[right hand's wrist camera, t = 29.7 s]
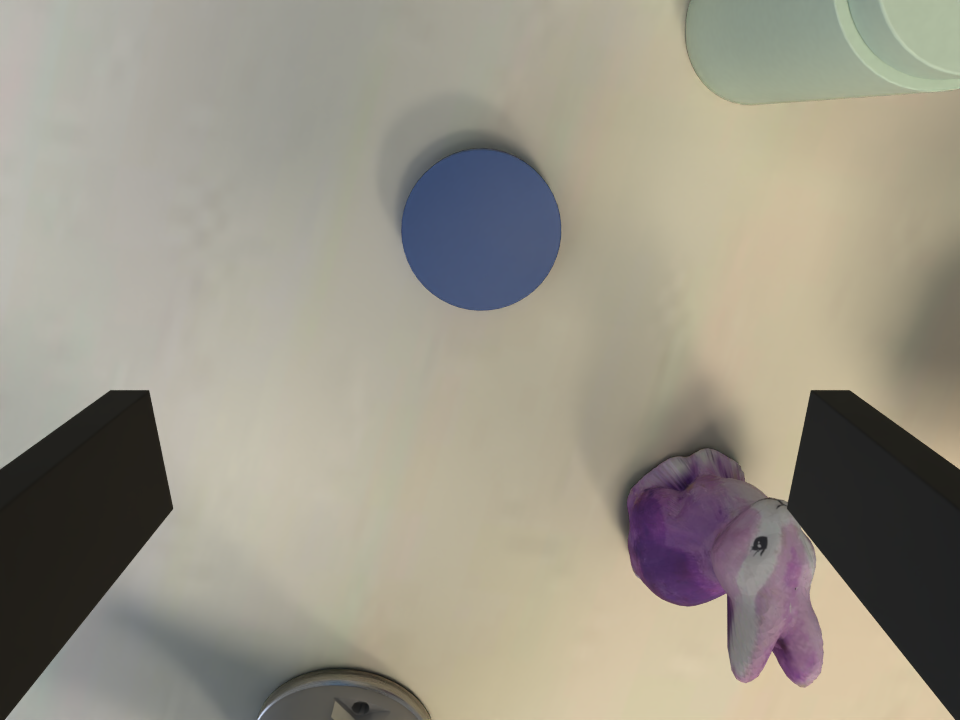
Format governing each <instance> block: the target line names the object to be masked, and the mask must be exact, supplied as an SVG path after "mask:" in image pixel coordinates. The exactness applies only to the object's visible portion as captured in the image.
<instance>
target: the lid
mask: <svg viewBox="0 0 960 720" xmlns="http://www.w3.org/2000/svg"><path fill="white" fill-rule="evenodd" d="M401 232H402V243H403V247H404V252H405V255H406V258H407V261H408V263H409V265H410V267H411V269H412V271H413V272H414V274H415V275H416V277H417V278H418V280H419V281H420V282H421V283H422V284H423V285H424V287H425V288H427V289H428V290H429V291H430V292H431V293H432V294H434V295H435V296H436V297H438V298H439V299H441V300H443V301H445V302H447V303H449V304H451V305H454V306H457V307H460V308H464V309H469V310H493V309H499V308H502V307H506V306H509V305H511V304H514V303H516V302H518V301H520V300H521V299H523V298H525V297H526V296H528V295H529V294H530V293H531V292H533V291H534V290H535V289H536V288H537V287H538V286H539V285H540V284H541V283H542V282H543V280H544V279H545V278H546V276H547V275H548V273H549V272H550V270H551V268H552V267H553V264H554V262H555V260H556V257H557V254H558V250H559V247H560V240H561V220H560V214H559V210H558V206H557V203H556V200H555V198H554V195H553V194H552V192H551V190H550V188H549V186H548V185H547V184H546V182H545V181H544V180H543V178H542V177H541V176H540V175H539V174H538V173H537V172H536V171H535V170H534V169H533V168H532V167H530V166H529V165H528V164H527V163H525V162H524V161H522V160H521V159H519V158H517V157H515V156H513V155H511V154H508V153H506V152H503V151H499V150H495V149H486V148H479V149H469V150H463V151H460V152H457V153H454V154H452V155H449V156H447V157H445V158H443V159H442V160H440V161H439V162H437V163H436V164H435V165H433V166H432V167H431V168H430V169H429V170H428V171H427V172H425V173H424V175H423V176H422V177H421V178H420V179H419V180H418V182H417V183H416V185H415V186H414V188H413V189H412V191H411V193H410V195H409V197H408V199H407V202H406V205H405V208H404V212H403V218H402V230H401Z"/></svg>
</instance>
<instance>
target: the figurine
mask: <svg viewBox="0 0 960 720" xmlns="http://www.w3.org/2000/svg"><path fill="white" fill-rule="evenodd" d="M787 505H788V502H786V501H784V500H779V499H775V498H768V497H767V496H766V495H765V494H764V493H763V492H762V491H760V490H759V489H758V488H756V487H755V486H753V485H751V484H749V483H747V482H745V478H744V473H743V471H742V470H741V466H740V465H738V463H737V462H736V461H734V460H733V459H730V457H727V456H725V455H724V454H722V453H721V452H719V451H716V450H714V449H709V448H706V449H701V450H699V451H698V452H695V453H693V454H692V455H690V456H687V457H682V456H676V457H672V458H669V459H667V460H666V461H664V462H662V463H661V464H659V465H658V466H657V467H656V468H653V470H651V471H650V472H649V473H647V474H646V475H645V476H643V478H642V479H641V480H639V481H638V483H637V484H635V485H634V486H633V487H632V488H631V490H630V493H629V496H628V499H627V508H628V513H629V522H630V530H629V535H628V550H629V554H630V560H631V565H632V568H633V571H634V573H635V575H636V576H637V577H638V578H640V579H641V580H642V581H643V583H644V584H645V585H646V586H647V587H648V588H649V589H650V590H651V591H652V592H653V593H654V594H655V595H657V596H658V597H660V598H661V599H663V600H665V601H668V602H670V603H673V604H676V605H680V606H696V605H699V604H703V603H706V602H709V601H711V600H713V599H716V598H718V597H720V596H722V595H724V594H726V593H727V636H728V652H729V658H730V664H731V669H732V672H733V674H734V675H735V677H736V679H738V680H739V681H741V682H744V683H747V682H750V681H752V680H753V679H755V678H756V677H758V676H759V674H760V672H761V671H762V670H763V668H764V666H765V664H766V662H767V660H768V658H769V656H770V654H771V652H772V651H773V653H774V654H775V656H776V658H777V660H778V662H779V664H780V666H781V668H782V669H783V671H784V672H785V674H786V676H787V677H788V678H789V679H790V680H791V681H792V682H794V683H795V684H797V685H798V686H800V687H804V688H805V687H807V686H808V685H810V684H811V683H813V680H815V679H817V677H818V675H819V674H820V673H821V668H822V664H823V653H824V652H823V640H822V633H821V628H820V626H819V623H818V619H817V617H816V615H815V613H814V610H813V608H812V605H811V602H810V594H809V593H810V587H811V582H812V579H813V575H814V572H815V568H816V556H815V551H814V547H813V545H812V543H811V541H810V540H809V538H808V537H807V536H806V535H805V534H804V533H803V531H802V530H801V527H800V525H799V523H798V522H797V521H796V520H795V518H794V517H793V516H792V515H791V513H790V512H789V511H788V510H787Z"/></svg>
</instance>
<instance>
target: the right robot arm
mask: <svg viewBox="0 0 960 720" xmlns="http://www.w3.org/2000/svg"><path fill="white" fill-rule="evenodd" d="M172 510H173V505H172V500H171V495H170V490H169V485H168V481H167V476H166V471H165V466H164V461H163V456H162V451H161V446H160V441H159V437H158V432H157V427H156V422H155V417H154V412H153V407H152V402H151V397H150V393H149V390H110V391H109V392H107V393H106V394H105V395H103V396H102V397H100V398H99V399H98V400H96V401H95V402H93V403H92V404H91V405H89V406H88V407H87V408H85V409H84V410H82V411H81V412H80V413H78V414H77V415H75V416H74V417H73V418H71V419H70V420H68V421H67V422H66V423H64V424H63V425H62V426H60V427H59V428H57V429H56V430H55V431H53V432H52V433H50V434H49V435H48V436H46V437H45V438H43V439H42V440H41V441H39V442H38V443H37V444H35V445H34V446H32V447H31V448H30V449H28V450H27V451H25V452H24V453H23V454H21V455H20V456H18V457H17V458H16V459H14V460H13V461H11V462H10V463H9V464H7V465H6V466H5V467H3V468H2V469H0V720H5V719H6V718H7V716H8V715H9V714H10V713H11V711H12V710H13V709H14V708H15V706H16V705H17V704H18V702H19V701H20V700H21V699H22V697H23V696H24V695H25V694H26V692H27V691H28V690H29V689H30V687H31V686H32V685H33V684H34V682H35V681H36V680H37V679H38V677H39V676H40V675H41V674H42V672H43V671H44V670H45V669H46V667H47V666H48V665H49V664H50V662H51V661H52V660H53V659H54V657H55V656H56V655H57V654H58V652H59V651H60V650H61V649H62V647H63V646H64V645H65V644H66V642H67V641H68V640H69V639H70V637H71V636H72V635H73V634H74V632H75V631H76V630H77V629H78V627H79V626H80V625H81V624H82V622H83V621H84V620H85V619H86V617H87V616H88V615H89V614H90V612H91V611H92V610H93V609H94V607H95V606H96V605H97V604H98V602H99V601H100V600H101V599H102V597H103V596H104V595H105V594H106V592H107V591H108V590H109V589H110V587H111V586H112V585H113V583H114V582H115V581H116V580H117V578H118V577H119V576H120V575H121V573H122V572H123V571H124V570H125V568H126V567H127V566H128V565H129V563H130V562H131V561H132V560H133V558H134V557H135V556H136V555H137V553H138V552H139V551H140V550H141V548H142V547H143V546H144V545H145V543H146V542H147V541H148V540H149V538H150V537H151V536H152V535H153V533H154V532H155V531H156V530H157V528H158V527H159V526H160V525H161V523H162V522H163V521H164V520H165V518H166V517H167V516H168V515H169V513H170V512H171V511H172ZM787 510H788V511H789V512H790V513H791V515H792V516H793V517H794V518H795V520H796V521H797V522H798V523H799V525H800V526H801V527H802V528H803V530H804V531H805V532H806V533H807V535H808V536H809V537H810V538H811V540H812V541H813V542H814V543H815V545H816V546H817V547H818V548H819V550H820V551H821V552H822V553H823V555H824V556H825V557H826V558H827V560H828V561H829V562H830V563H831V565H832V566H833V567H834V568H835V570H836V571H837V572H838V573H839V575H840V576H841V577H842V578H843V580H844V581H845V582H846V583H847V585H848V586H849V587H850V589H851V590H852V591H853V592H854V594H855V595H856V596H857V597H858V599H859V600H860V601H861V602H862V604H863V605H864V606H865V607H866V609H867V610H868V611H869V612H870V614H871V615H872V616H873V617H874V619H875V620H876V621H877V622H878V624H879V625H880V626H881V627H882V629H883V630H884V631H885V632H886V634H887V635H888V636H889V637H890V639H891V640H892V641H893V642H894V644H895V645H896V646H897V647H898V649H899V650H900V651H901V652H902V654H903V655H904V656H905V657H906V659H907V660H908V661H909V662H910V664H911V665H912V666H913V667H914V669H915V670H916V671H917V672H918V674H919V675H920V676H921V677H922V679H923V680H924V681H925V682H926V684H927V685H928V686H929V687H930V689H931V690H932V691H933V692H934V694H935V695H936V696H937V697H938V699H939V700H940V701H941V702H942V704H943V705H944V706H945V708H946V709H947V710H948V711H949V713H950V714H951V715H952V716H953V718H954V719H955V720H960V469H958V468H957V467H955V466H954V465H953V464H951V463H950V462H949V461H947V460H946V459H944V458H943V457H942V456H940V455H939V454H937V453H936V452H935V451H933V450H932V449H930V448H929V447H928V446H926V445H925V444H923V443H922V442H921V441H919V440H918V439H917V438H915V437H914V436H912V435H911V434H910V433H908V432H907V431H905V430H904V429H903V428H901V427H900V426H898V425H897V424H896V423H894V422H893V421H892V420H890V419H889V418H887V417H886V416H885V415H883V414H882V413H880V412H879V411H878V410H876V409H875V408H873V407H872V406H871V405H869V404H868V403H867V402H865V401H864V400H862V399H861V398H860V397H858V396H857V395H855V394H854V393H853V392H851V391H850V390H811V393H810V397H809V402H808V407H807V412H806V417H805V422H804V427H803V432H802V437H801V441H800V446H799V451H798V456H797V461H796V466H795V471H794V476H793V480H792V485H791V490H790V495H789V500H788V505H787ZM257 720H431V718H430V716H429V714H428V712H427V711H426V709H425V708H424V706H423V705H422V704H421V703H420V701H419V700H418V699H417V698H416V697H415V696H414V695H412V694H411V693H410V692H409V691H407V690H406V689H405V688H403V687H402V686H400V685H398V684H397V683H395V682H393V681H391V680H389V679H386V678H384V677H381V676H378V675H375V674H372V673H368V672H363V671H357V670H349V669H329V670H321V671H315V672H311V673H307V674H304V675H301V676H298V677H296V678H294V679H292V680H290V681H288V682H286V683H284V684H283V685H282V686H280V687H279V688H277V689H276V690H275V691H274V692H273V693H272V694H271V695H270V696H269V697H268V698H267V700H266V701H265V703H264V704H263V706H262V708H261V710H260V713H259V715H258V718H257Z"/></svg>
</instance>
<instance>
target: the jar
mask: <svg viewBox="0 0 960 720" xmlns="http://www.w3.org/2000/svg"><path fill="white" fill-rule="evenodd" d="M685 35H686V45H687V50H688V55H689V58H690V61H691V64H692V66H693V68H694V70H695V72H696V74H697V75H698V77H699V78H700V80H701V81H702V82H703V83H704V84H705V85H706V86H707V88H708V89H710V90H711V91H712V92H713V93H715V94H716V95H718V96H720V97H721V98H723V99H725V100H728V101H730V102H733V103H738V104H743V105H760V104H774V103H788V102H802V101H816V100H830V99H845V98H859V97H873V96H887V95H901V94H915V93H929V92H942V91H952V90H957V89H960V0H690V4H689V7H688V11H687V18H686V30H685Z"/></svg>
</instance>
